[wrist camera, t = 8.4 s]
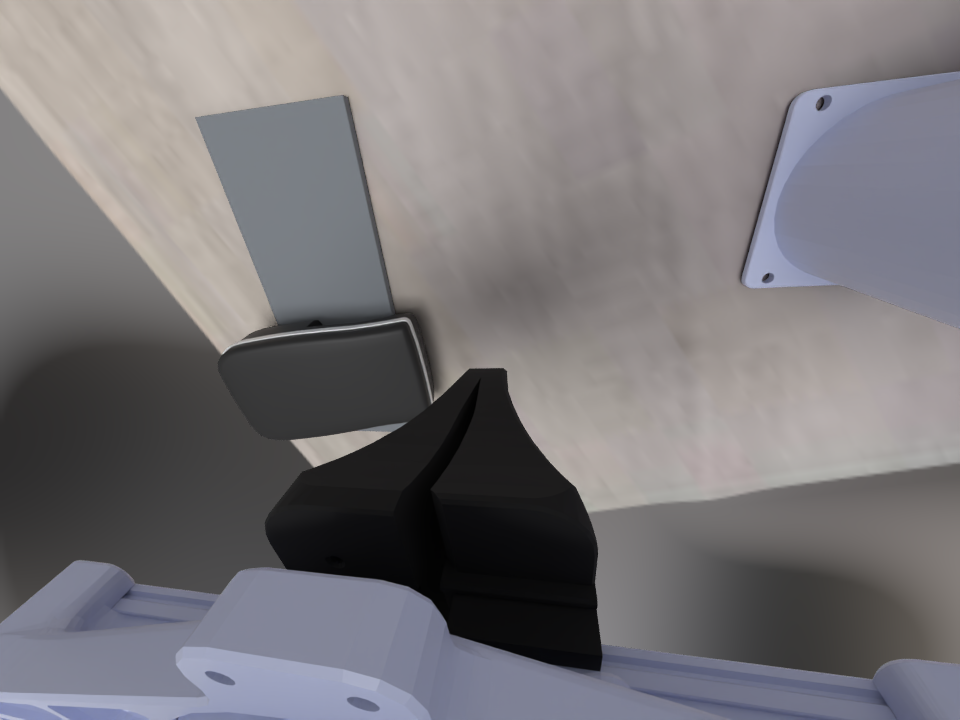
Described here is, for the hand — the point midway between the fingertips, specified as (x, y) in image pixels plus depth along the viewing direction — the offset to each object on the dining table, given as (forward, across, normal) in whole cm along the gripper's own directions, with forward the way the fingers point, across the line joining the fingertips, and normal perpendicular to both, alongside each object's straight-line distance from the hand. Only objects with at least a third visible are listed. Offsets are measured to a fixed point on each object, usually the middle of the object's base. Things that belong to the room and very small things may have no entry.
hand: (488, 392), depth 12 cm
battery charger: (+8, +5, +3) cm, 9 cm away
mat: (+9, +11, -1) cm, 14 cm away
